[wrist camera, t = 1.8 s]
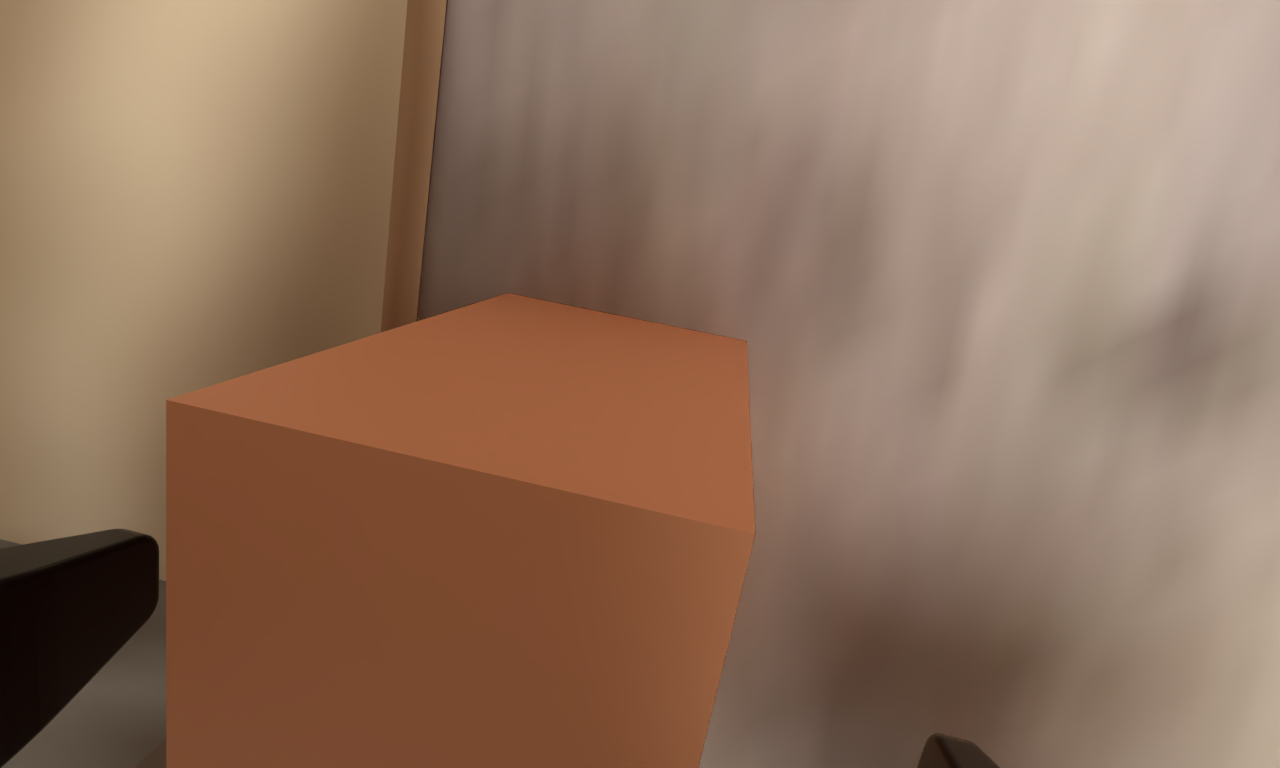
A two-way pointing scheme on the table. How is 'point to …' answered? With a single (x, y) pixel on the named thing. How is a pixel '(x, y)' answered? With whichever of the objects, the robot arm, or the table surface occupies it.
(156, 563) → the robot arm
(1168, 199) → the table surface
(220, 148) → the corner board
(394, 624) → the block
